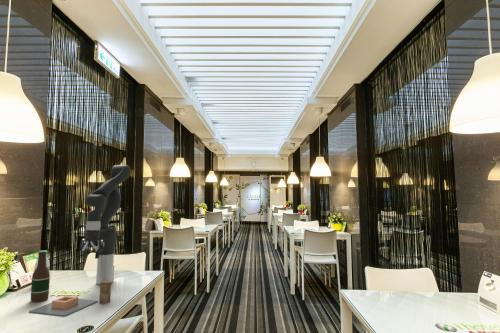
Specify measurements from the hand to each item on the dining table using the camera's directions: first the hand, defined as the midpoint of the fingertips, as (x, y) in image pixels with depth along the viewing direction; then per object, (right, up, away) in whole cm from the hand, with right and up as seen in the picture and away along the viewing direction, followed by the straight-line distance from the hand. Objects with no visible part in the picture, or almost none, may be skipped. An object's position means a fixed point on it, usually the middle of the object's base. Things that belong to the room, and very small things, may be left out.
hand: (90, 258), depth 177 cm
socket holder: (+3, -14, -30) cm, 33 cm away
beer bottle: (-16, -16, -20) cm, 30 cm away
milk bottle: (-33, -19, +8) cm, 39 cm away
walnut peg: (+19, -15, -24) cm, 34 cm away
